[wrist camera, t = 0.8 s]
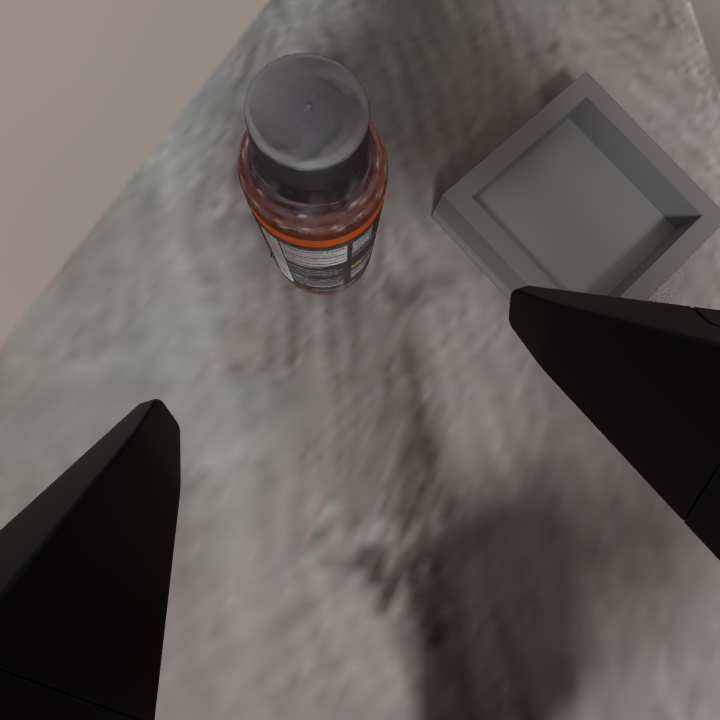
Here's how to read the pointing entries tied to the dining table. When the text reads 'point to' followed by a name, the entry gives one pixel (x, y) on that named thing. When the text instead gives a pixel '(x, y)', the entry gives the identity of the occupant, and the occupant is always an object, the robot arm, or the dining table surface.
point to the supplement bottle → (313, 170)
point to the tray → (579, 203)
